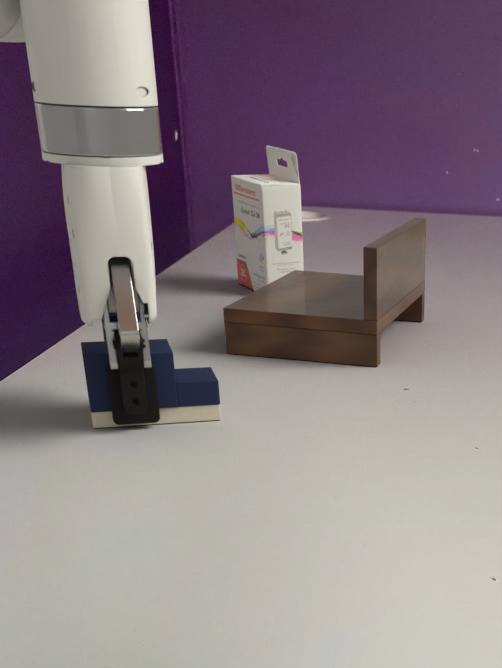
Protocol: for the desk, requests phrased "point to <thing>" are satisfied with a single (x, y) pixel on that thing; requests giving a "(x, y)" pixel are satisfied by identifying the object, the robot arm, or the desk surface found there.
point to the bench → (334, 305)
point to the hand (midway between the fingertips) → (134, 410)
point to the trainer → (172, 387)
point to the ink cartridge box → (268, 221)
